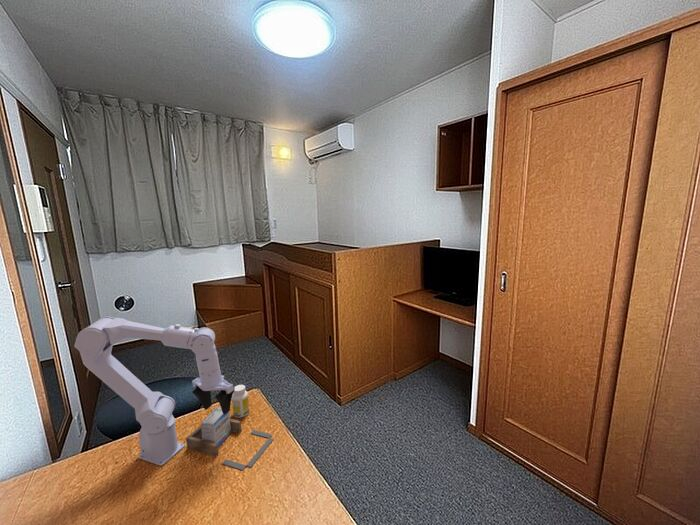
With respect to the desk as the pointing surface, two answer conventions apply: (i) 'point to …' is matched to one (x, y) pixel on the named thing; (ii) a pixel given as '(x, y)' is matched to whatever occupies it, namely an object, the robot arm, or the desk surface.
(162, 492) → the desk surface
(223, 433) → the medicine box
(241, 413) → the supplement bottle
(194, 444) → the walnut shelf
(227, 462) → the frame
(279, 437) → the desk surface
